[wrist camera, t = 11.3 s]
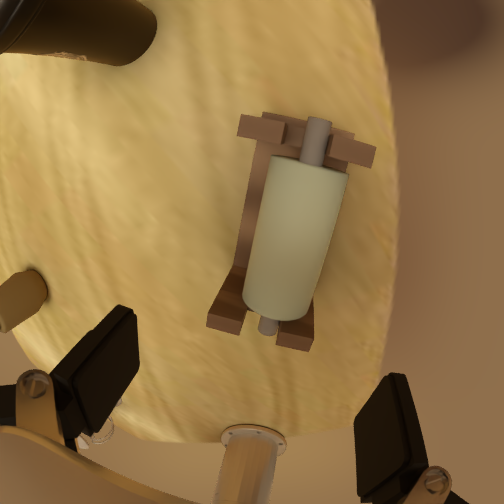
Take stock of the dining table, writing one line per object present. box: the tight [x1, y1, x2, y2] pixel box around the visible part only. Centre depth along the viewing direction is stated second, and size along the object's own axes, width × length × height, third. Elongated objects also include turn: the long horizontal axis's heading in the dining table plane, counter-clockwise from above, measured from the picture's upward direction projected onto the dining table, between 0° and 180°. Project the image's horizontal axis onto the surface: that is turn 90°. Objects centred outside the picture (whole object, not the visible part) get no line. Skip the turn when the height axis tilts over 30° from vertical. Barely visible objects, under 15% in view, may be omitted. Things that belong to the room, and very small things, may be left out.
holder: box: [206, 112, 376, 352], centre depth 26 cm, size 19×9×11 cm, turn 169°
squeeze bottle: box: [0, 270, 47, 333], centre depth 34 cm, size 8×8×18 cm
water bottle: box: [0, 0, 157, 66], centre depth 15 cm, size 10×10×23 cm
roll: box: [242, 117, 349, 336], centre depth 23 cm, size 19×6×6 cm
